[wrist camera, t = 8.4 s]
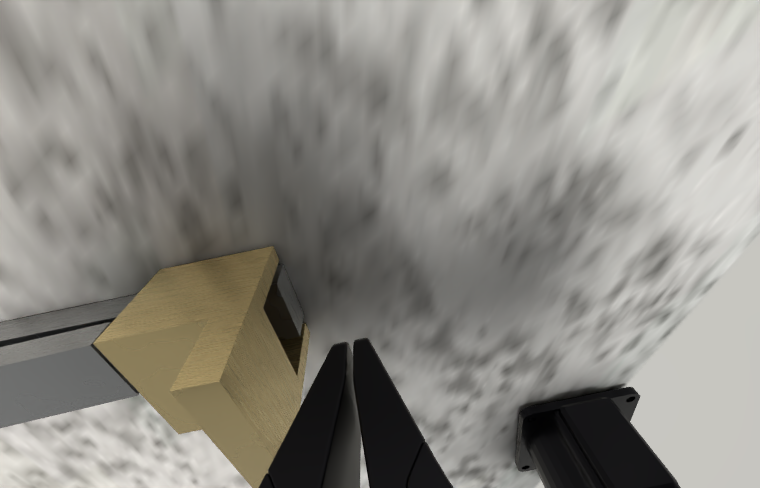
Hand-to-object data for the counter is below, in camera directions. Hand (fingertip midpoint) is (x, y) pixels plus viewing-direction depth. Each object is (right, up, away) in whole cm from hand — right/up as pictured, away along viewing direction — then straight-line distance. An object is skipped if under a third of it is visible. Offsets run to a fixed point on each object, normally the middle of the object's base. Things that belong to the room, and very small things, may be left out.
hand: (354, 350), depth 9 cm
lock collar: (-5, +1, +3) cm, 6 cm away
